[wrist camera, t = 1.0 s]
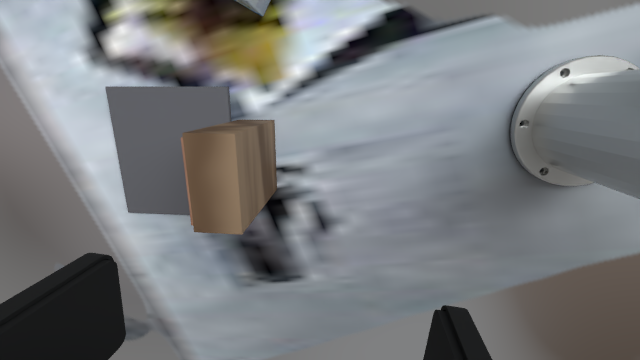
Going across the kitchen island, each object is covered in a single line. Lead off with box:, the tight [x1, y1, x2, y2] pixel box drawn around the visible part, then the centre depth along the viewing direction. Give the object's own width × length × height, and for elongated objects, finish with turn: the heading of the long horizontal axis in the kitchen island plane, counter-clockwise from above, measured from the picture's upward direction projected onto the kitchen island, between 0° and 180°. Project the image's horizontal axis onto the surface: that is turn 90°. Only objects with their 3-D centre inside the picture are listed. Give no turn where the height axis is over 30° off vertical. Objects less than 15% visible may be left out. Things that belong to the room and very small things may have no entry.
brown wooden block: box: [181, 120, 277, 234], centre depth 29 cm, size 4×8×12 cm, turn 0°
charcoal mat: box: [106, 87, 231, 215], centre depth 35 cm, size 14×15×1 cm
